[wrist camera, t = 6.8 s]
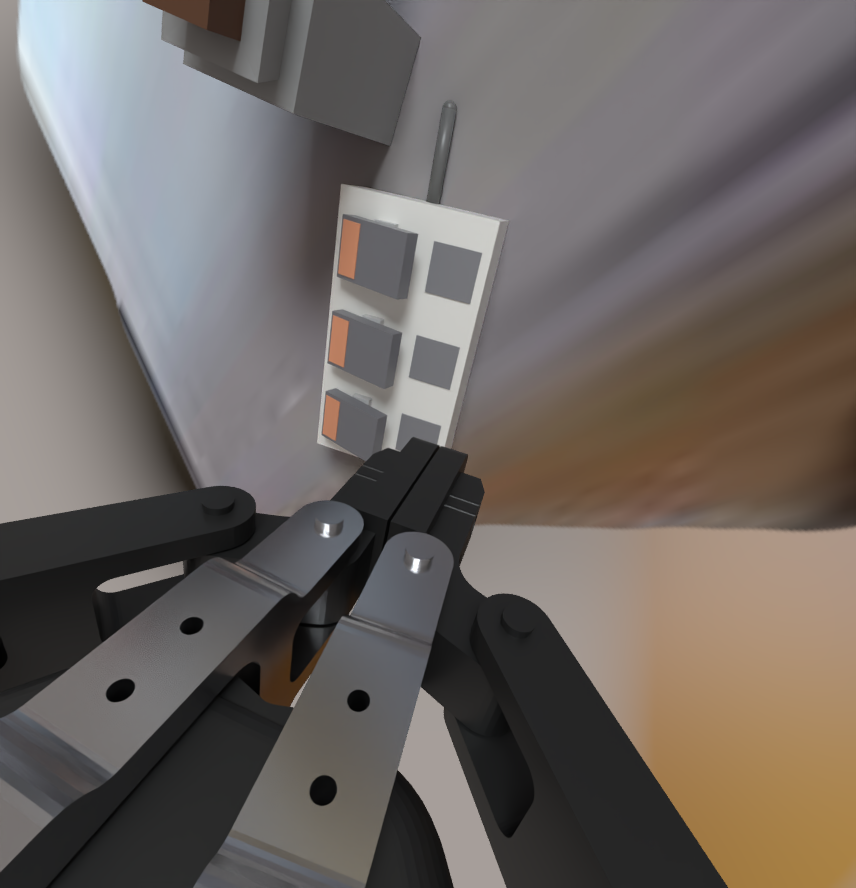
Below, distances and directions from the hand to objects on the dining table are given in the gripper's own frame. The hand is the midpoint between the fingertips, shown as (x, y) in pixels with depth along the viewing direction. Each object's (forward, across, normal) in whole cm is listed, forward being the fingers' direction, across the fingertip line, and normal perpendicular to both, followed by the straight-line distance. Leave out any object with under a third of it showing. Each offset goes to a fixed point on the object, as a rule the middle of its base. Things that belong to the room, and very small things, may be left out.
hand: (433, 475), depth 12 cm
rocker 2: (+23, +12, +6) cm, 27 cm away
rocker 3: (+23, +12, +13) cm, 29 cm away
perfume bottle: (+29, +17, -12) cm, 36 cm away
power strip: (+29, +10, +3) cm, 31 cm away
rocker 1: (+23, +12, -1) cm, 26 cm away
